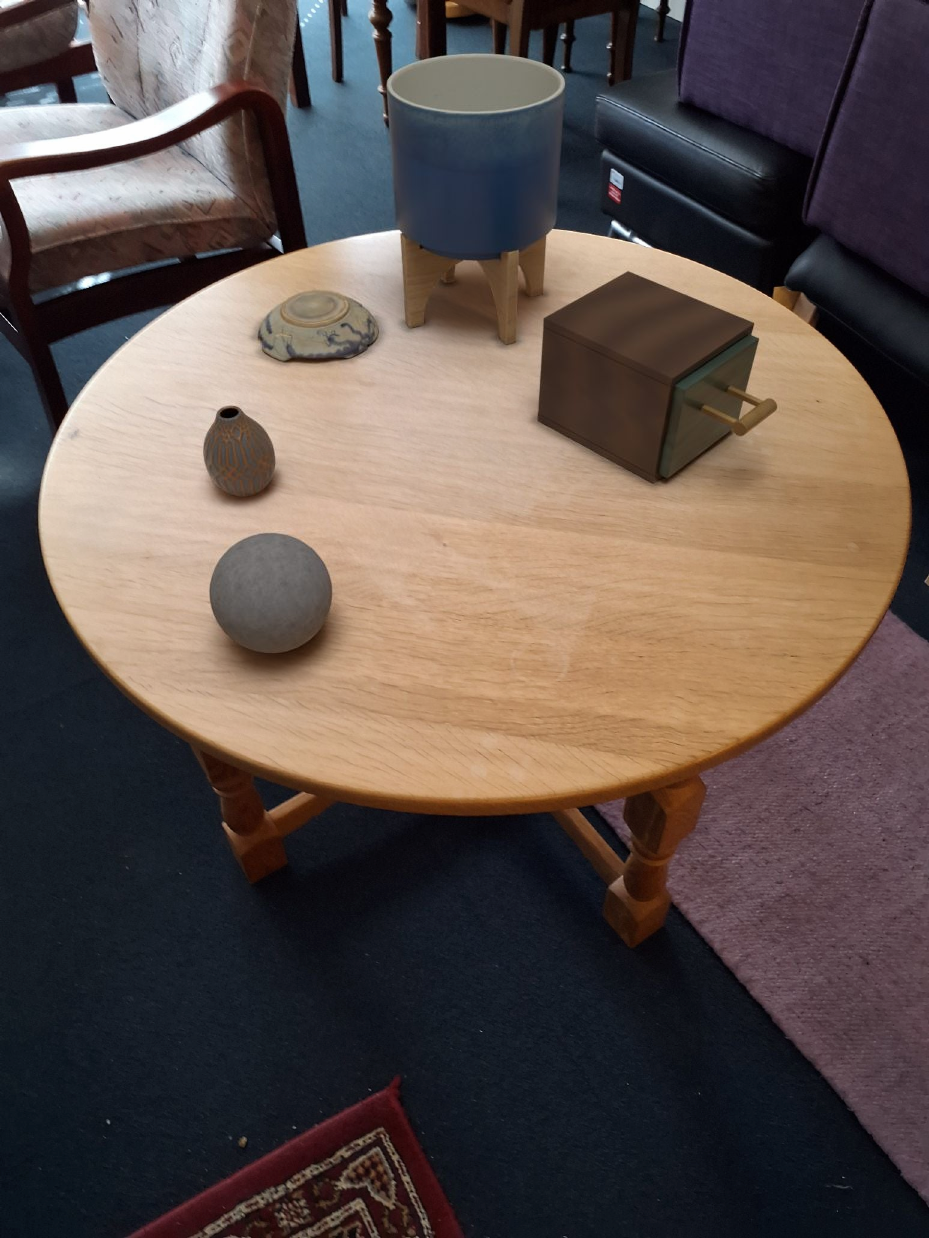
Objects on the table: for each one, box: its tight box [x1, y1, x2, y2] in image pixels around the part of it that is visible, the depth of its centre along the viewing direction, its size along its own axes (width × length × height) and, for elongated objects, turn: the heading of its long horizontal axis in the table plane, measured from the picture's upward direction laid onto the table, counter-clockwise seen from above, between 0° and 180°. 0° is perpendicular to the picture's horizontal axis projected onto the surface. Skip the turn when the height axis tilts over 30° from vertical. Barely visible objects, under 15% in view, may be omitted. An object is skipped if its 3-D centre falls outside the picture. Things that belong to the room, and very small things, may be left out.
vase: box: [202, 405, 276, 497], centre depth 89 cm, size 7×7×9 cm
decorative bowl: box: [257, 289, 379, 363], centre depth 111 cm, size 15×4×15 cm
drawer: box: [658, 334, 778, 479], centre depth 92 cm, size 20×13×10 cm, turn 45°
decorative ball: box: [208, 532, 333, 654], centre depth 74 cm, size 10×10×10 cm
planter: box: [386, 53, 566, 345], centre depth 106 cm, size 19×19×26 cm
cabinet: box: [537, 270, 755, 484], centre depth 94 cm, size 16×14×12 cm
